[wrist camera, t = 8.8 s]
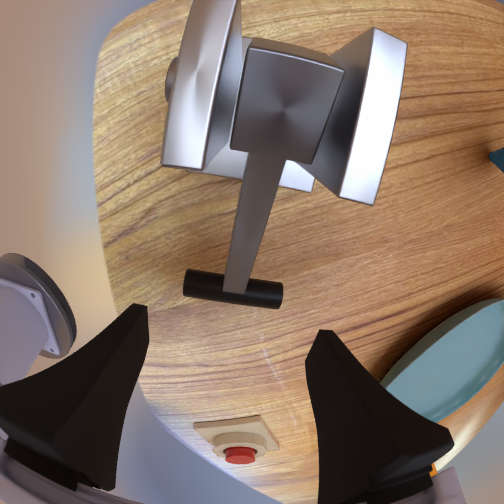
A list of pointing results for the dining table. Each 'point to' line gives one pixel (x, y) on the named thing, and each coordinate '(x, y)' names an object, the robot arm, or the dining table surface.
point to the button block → (238, 435)
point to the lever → (268, 156)
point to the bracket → (226, 93)
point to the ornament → (498, 158)
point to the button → (240, 455)
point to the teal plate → (450, 361)
